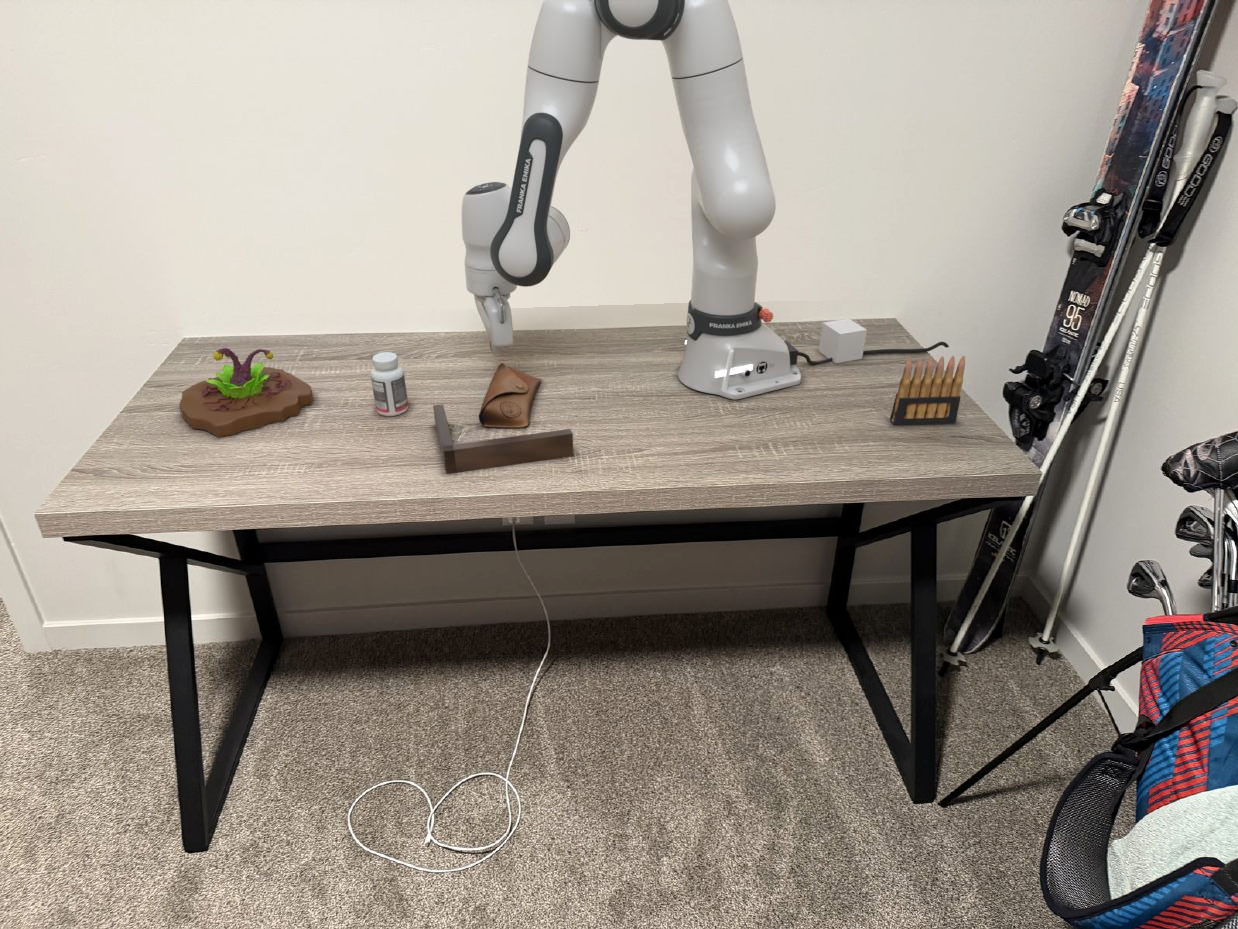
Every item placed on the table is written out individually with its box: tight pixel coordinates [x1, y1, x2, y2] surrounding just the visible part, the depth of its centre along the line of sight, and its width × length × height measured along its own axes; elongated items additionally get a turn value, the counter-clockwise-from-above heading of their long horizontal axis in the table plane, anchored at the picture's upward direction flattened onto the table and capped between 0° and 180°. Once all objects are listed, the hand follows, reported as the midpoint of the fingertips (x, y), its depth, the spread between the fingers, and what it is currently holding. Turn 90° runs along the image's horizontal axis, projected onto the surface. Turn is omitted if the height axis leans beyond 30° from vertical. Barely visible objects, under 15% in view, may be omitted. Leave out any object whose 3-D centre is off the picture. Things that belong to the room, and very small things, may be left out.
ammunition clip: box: [889, 355, 966, 427], centre depth 140 cm, size 11×2×12 cm, turn 94°
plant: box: [179, 347, 314, 438], centre depth 143 cm, size 20×20×11 cm
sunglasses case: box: [478, 362, 542, 429], centre depth 146 cm, size 18×7×7 cm
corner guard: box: [432, 404, 574, 475], centre depth 135 cm, size 20×15×4 cm
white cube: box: [818, 318, 868, 364], centre depth 164 cm, size 6×6×6 cm
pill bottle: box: [370, 351, 409, 417], centre depth 142 cm, size 5×5×10 cm
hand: (495, 351), depth 156 cm, fingers closed
